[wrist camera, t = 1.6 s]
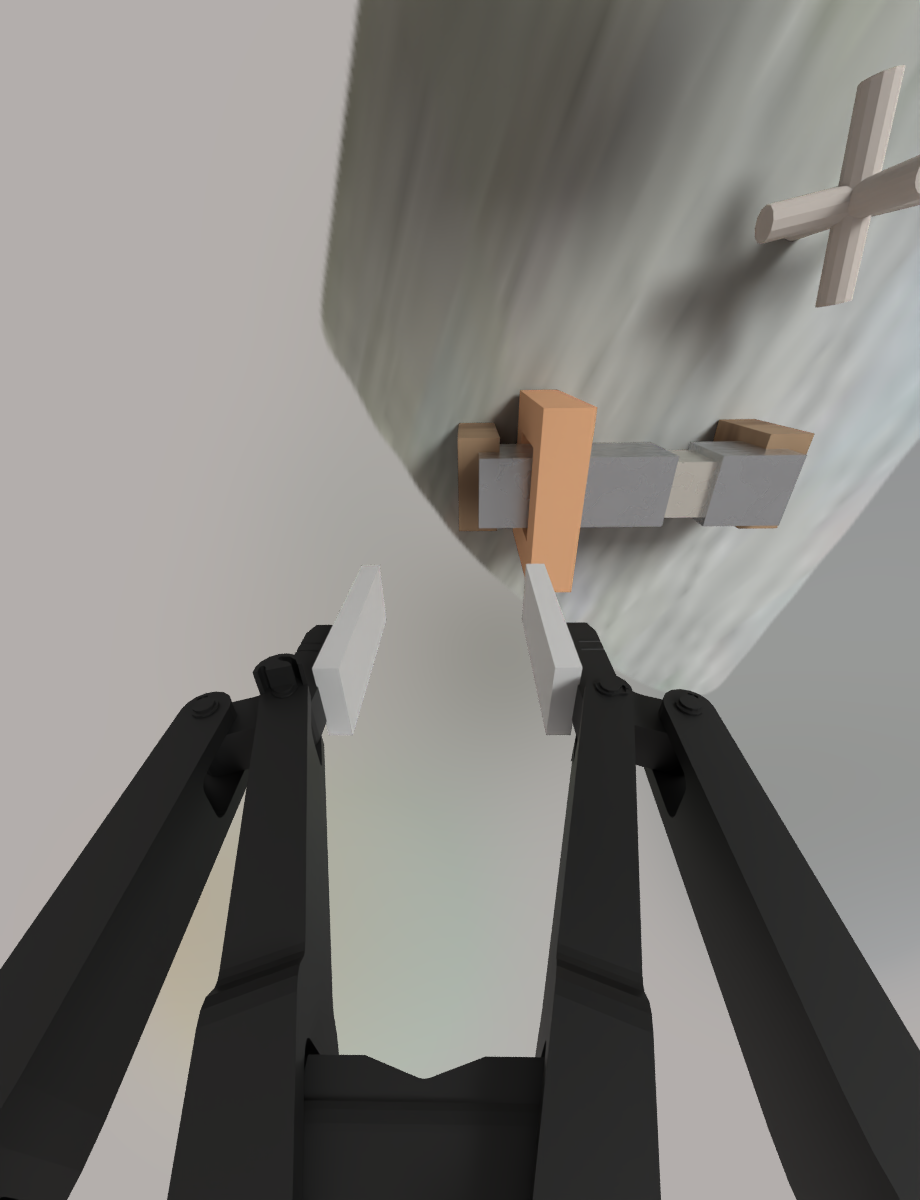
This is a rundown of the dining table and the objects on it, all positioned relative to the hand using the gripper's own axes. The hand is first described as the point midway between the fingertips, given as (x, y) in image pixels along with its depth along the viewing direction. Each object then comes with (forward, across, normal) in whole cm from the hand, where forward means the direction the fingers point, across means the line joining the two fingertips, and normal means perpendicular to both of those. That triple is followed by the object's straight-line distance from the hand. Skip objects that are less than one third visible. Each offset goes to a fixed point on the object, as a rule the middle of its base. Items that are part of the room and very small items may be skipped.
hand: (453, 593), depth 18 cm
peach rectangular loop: (+23, +6, 0) cm, 24 cm away
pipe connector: (+23, +24, +16) cm, 37 cm away
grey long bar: (+19, +12, 0) cm, 23 cm away
